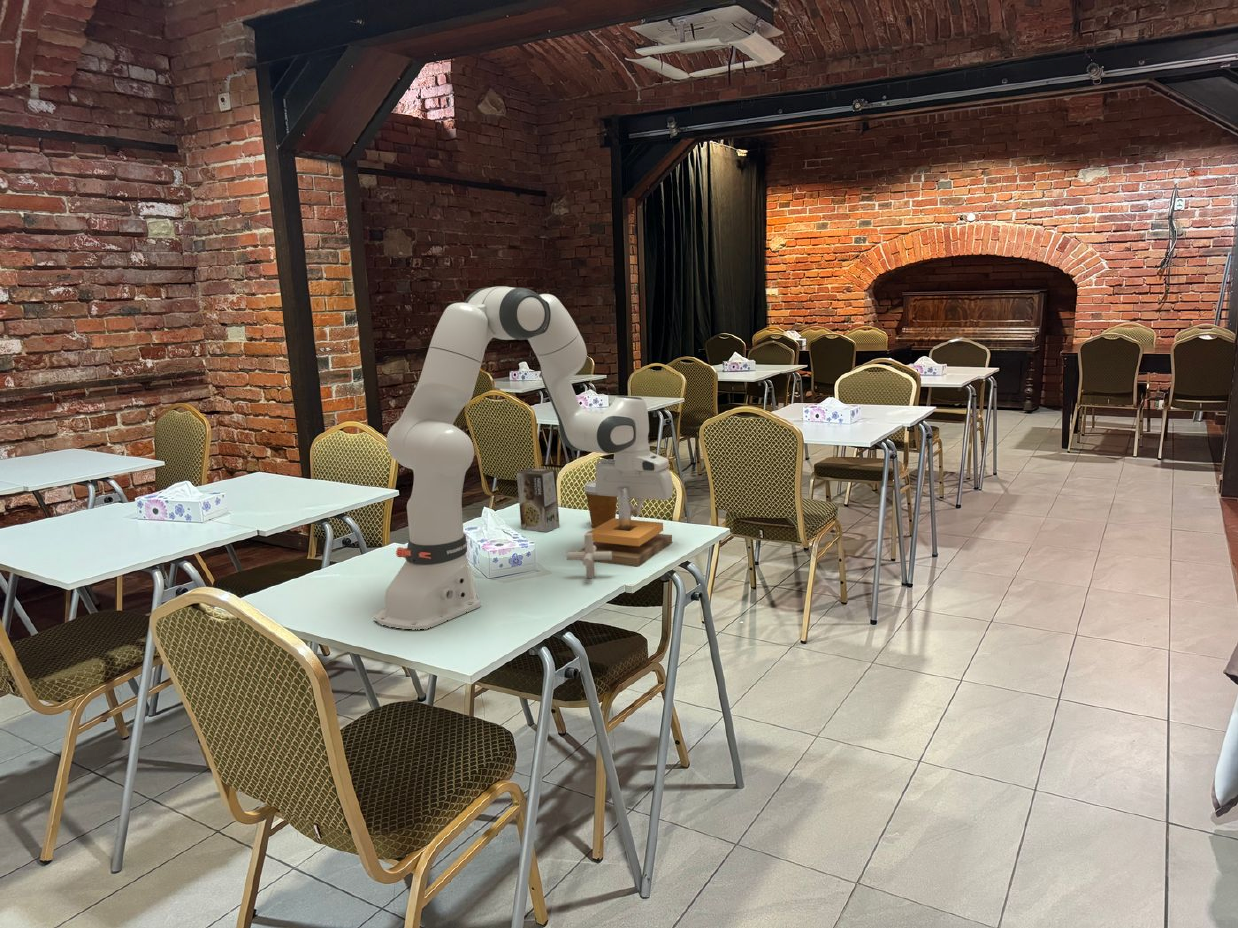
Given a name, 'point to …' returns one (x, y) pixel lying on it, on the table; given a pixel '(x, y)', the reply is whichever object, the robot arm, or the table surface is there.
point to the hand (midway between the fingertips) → (634, 514)
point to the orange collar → (626, 532)
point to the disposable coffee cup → (599, 505)
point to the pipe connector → (589, 555)
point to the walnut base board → (633, 550)
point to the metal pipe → (624, 509)
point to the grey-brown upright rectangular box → (538, 499)
